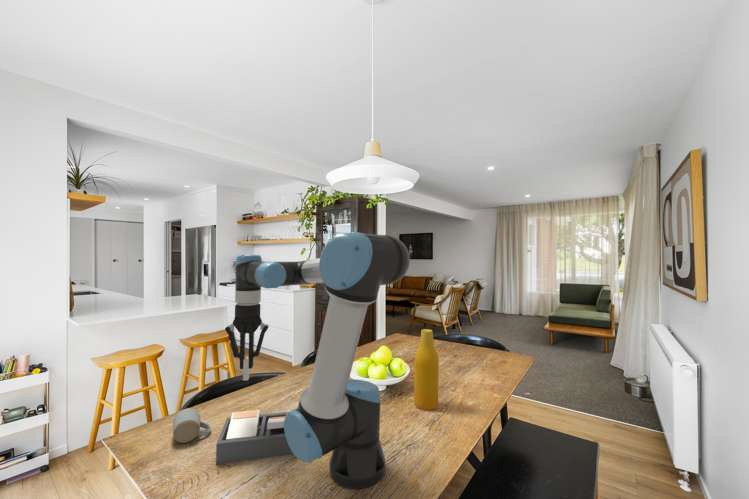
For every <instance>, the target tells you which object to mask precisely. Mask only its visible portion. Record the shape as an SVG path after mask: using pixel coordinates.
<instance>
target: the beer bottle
mask: <svg viewBox="0 0 749 499" xmlns="http://www.w3.org/2000/svg"><path fill="white" fill-rule="evenodd" d="M419 341H420V342H419V345H418V348H417V351H416V353H415V356H414V393H413V396H414V397H413V403H414V406H415V407H416V408H417V409H420V410H421V411H434V410H436V409H437V408H438V406H439V364H440V363H439V362H440V361H439V356H438V353H437V351H436V349H435V343H434V333H433V330H432V329H430V328H428V329H427V328H423V329H421V332H420V340H419Z"/></svg>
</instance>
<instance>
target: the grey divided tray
mask: <svg viewBox="0 0 749 499" xmlns="http://www.w3.org/2000/svg"><path fill="white" fill-rule="evenodd" d="M288 412H289V411H285V412H284V411H283V412H273V413H262V414H259V427H258V429H257V437H249V438H240V439H231V440H226V438H227V433H228V425H230V421H231V416H229V417H227V418H226V420H225V422H224V424H223V427H222V430H221V432H220V435H219V437H218V439H217V441H216V444H215V445H216V448H215V449H216V450H215V457H216V458H215V464H216V465H220V464H227V463H234V462H235V463H236V462H237V463H238V462H244V461H253V460H259V459H261V460H262V459H269V458H278V457H283V456H291V455H292V456H293V455H294V454H293V452H292V451H291V449H290V447H289V445H288V442H287V439H286V436H285V432H284V419H285V416H286V414H287V413H288ZM294 456H295V455H294Z"/></svg>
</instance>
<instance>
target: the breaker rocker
mask: <svg viewBox="0 0 749 499" xmlns="http://www.w3.org/2000/svg"><path fill="white" fill-rule="evenodd" d="M259 415H261V414H260V409H256V410H245V411H244V410H243V411H235V412H232V413H231V416H230V417H231V421H230V425H228V433H227V438H226V440H231V439H240V438H249V437H257V429H258V427H259Z"/></svg>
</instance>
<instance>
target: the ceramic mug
mask: <svg viewBox="0 0 749 499" xmlns="http://www.w3.org/2000/svg"><path fill="white" fill-rule="evenodd" d="M201 428H202V429H205V430H201ZM211 431H212V428H211V425H209V423H206V422H204V421H201V414H200V412H199V411H198V410H196V409H194V408H188V407H187V408H185V409H184V408H183V409H182V410H180V411H179V412H177V413H176V415H175V416H174V417H173V420H172V436H173V438H174V440H175V441H176V442H178V443H181V444H186V443H190V442H191V441H193V440H195V439H196V437H197V436H199V437H207V436H209V435H210V432H211Z"/></svg>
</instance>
